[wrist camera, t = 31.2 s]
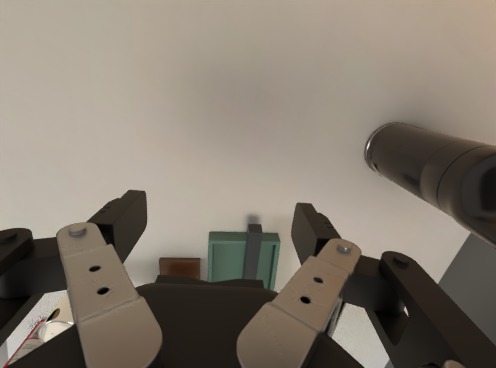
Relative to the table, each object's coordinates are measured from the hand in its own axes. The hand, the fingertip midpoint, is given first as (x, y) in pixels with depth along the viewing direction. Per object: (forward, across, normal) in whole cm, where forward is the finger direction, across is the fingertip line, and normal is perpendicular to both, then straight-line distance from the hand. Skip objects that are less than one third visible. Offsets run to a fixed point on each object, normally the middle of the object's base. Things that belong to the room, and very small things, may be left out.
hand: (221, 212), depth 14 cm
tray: (+32, -4, +32) cm, 46 cm away
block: (+30, -6, +28) cm, 41 cm away
